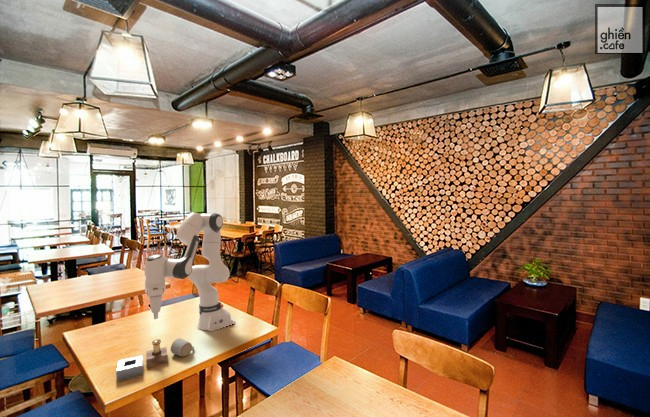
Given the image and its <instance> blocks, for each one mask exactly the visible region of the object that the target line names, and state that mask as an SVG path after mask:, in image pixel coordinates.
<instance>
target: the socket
mask: <svg viewBox="0 0 650 417" xmlns="http://www.w3.org/2000/svg"><path fill="white" fill-rule="evenodd" d="M143 357H144V355H138V356H137V355H136V356H133V357H128V358H124V359H119V360H117V364H116V371H115V372H116V374H115V375H116V383H119V382H122V381H126V380H130V379H134V378H138V377H143V375H144V374H143V372H144V358H143Z"/></svg>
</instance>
